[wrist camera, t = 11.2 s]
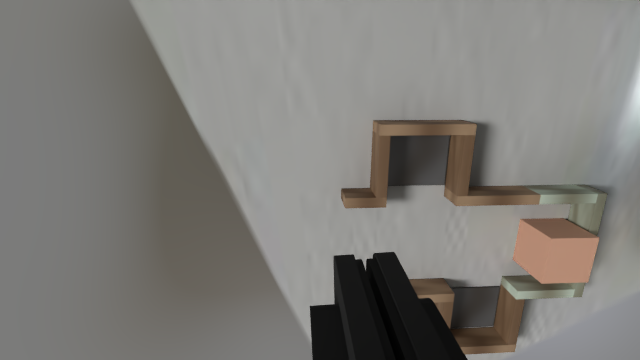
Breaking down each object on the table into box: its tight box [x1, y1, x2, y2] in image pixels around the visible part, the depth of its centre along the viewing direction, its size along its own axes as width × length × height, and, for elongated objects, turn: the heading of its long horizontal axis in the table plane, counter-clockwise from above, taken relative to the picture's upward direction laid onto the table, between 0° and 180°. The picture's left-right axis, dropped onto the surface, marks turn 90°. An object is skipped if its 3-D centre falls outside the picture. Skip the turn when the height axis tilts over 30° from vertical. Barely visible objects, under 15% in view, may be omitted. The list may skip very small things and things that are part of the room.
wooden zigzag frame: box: [341, 120, 607, 354], centre depth 38 cm, size 26×26×3 cm
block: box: [513, 218, 599, 284], centre depth 38 cm, size 5×5×5 cm
